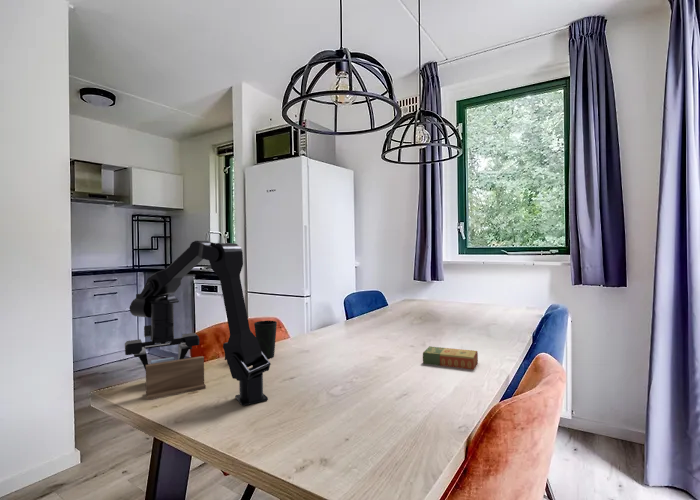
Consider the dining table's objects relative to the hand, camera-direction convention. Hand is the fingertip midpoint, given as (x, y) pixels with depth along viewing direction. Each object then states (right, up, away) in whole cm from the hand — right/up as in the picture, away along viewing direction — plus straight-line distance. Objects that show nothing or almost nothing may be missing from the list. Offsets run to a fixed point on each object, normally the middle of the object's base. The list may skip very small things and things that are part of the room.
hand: (163, 373), depth 108 cm
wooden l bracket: (+7, -2, -7) cm, 10 cm away
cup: (+24, -2, +24) cm, 34 cm away
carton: (+85, -2, +14) cm, 87 cm away
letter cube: (0, -3, 0) cm, 3 cm away
